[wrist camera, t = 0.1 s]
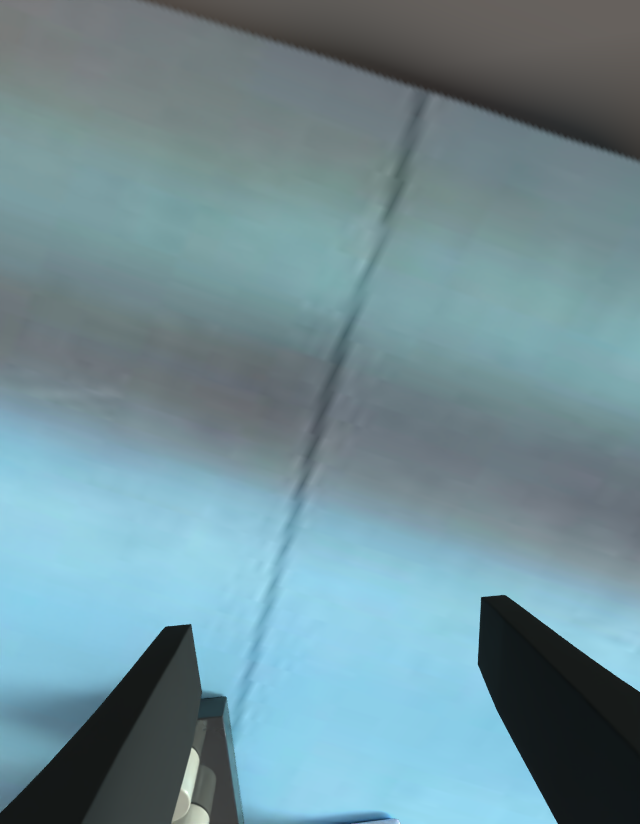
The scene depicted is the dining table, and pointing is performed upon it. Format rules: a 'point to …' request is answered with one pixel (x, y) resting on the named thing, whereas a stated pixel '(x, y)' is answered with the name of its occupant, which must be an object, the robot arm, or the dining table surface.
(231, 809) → the sushi plate
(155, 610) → the dining table surface
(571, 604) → the dining table surface
